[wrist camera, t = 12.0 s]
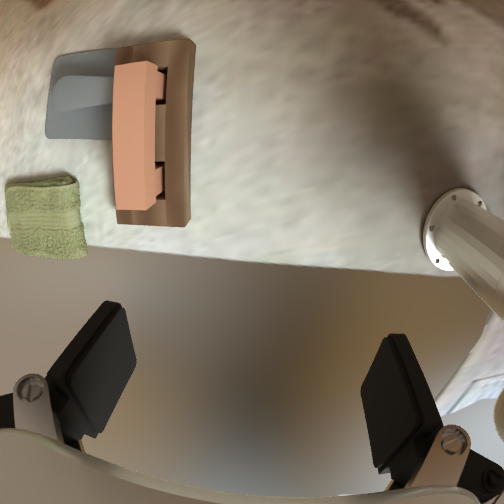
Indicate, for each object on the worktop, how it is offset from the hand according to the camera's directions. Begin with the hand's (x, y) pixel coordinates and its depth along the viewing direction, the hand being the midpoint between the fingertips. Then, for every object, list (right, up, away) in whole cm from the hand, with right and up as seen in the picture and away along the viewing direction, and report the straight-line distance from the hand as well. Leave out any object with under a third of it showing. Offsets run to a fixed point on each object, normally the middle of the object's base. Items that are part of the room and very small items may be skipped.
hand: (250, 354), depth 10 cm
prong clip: (-11, +18, +22) cm, 31 cm away
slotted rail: (-12, +18, +22) cm, 31 cm away
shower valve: (-21, +24, +20) cm, 38 cm away
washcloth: (-33, +9, +28) cm, 44 cm away
